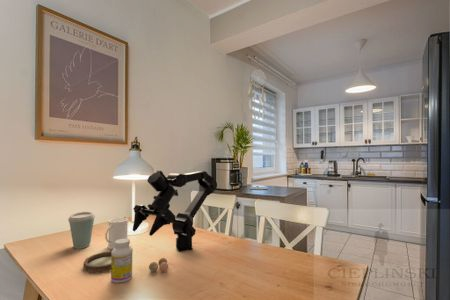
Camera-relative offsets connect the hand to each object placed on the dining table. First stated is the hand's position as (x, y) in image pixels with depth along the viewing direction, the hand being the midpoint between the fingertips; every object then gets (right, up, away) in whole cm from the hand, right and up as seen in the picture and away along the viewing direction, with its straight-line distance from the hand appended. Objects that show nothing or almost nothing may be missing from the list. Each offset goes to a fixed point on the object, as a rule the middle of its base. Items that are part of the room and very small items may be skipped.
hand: (141, 233), depth 88 cm
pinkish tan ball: (+9, -12, -2) cm, 15 cm away
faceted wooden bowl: (-15, -13, +3) cm, 21 cm away
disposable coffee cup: (-36, -14, +22) cm, 44 cm away
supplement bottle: (-4, -13, -7) cm, 16 cm away
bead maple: (+5, -12, -2) cm, 13 cm away
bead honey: (+8, -12, +2) cm, 14 cm away
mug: (-20, -14, +21) cm, 32 cm away
